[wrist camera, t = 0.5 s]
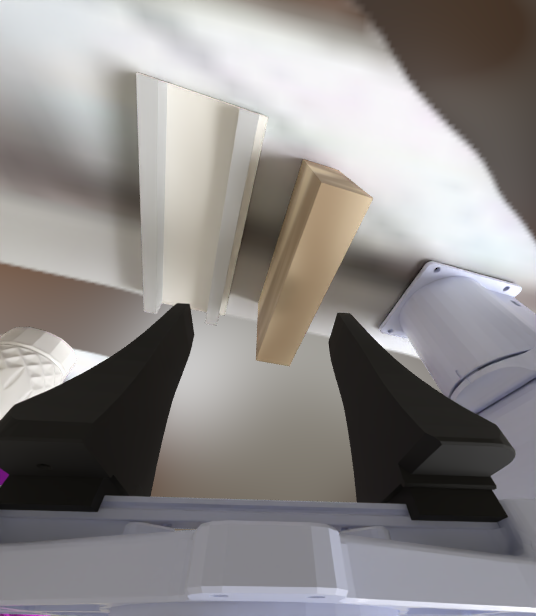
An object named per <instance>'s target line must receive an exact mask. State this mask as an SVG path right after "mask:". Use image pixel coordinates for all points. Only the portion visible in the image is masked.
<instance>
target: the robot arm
mask: <svg viewBox="0 0 536 616" xmlns="http://www.w3.org/2000/svg"><path fill="white" fill-rule="evenodd" d="M437 267H438V268H437ZM435 268H437V269H436V270H434V269H435ZM521 290H522V287H520V286H519V285H517V284H514V283H510V282H507V281H503V280H499V279H496V278H492V277H489V276H485V275H481V274H478V273H474V272H470V271H467V270H463V269H460V268H456V267H452V266H449V265H445V264H441V263H438V262H434V261H430V262H428V263H426V264H425V265H424V267H423V268H422V269H421V271H420V272H419V274H418V275H417V276H416V278H415V279H414V280H413V282H412V283H411V285H410V286H409V287H408V289H407V290H406V291H405V293H404V294H403V296H402V297H401V298H400V300H399V301H398V302H397V304H396V305H395V307H394V308H393V309H392V311H391V312H390V313H389V315H388V316H387V318H386V319H385V320H384V322H383V323H382V324H381V326H380V328H379V329H380V331H381V333H385V334H389V335H394V336H399V337H404V338H408V339H409V341H410V342H411V344H412V346H413V347H414V349H415V350H416V352H417V354H418V355H419V357H420V358H421V360H422V361H423V363H424V365H425V366H426V368H427V369H428V371H429V372H430V374H431V376H432V378H433V379H434V381H435V382H436V384H437V386H438V387H439V389H440V390H441V392H442V394H441V393H439V392H438V391H437V390H435V389H434V388H432V387H431V386H429V385H428V384H427V383H425V382H424V381H422V380H421V379H420V378H418V377H417V376H415V375H414V374H413V373H412V372H410V371H409V370H408V369H407V368H405V367H404V366H403V365H402V364H400V363H399V362H398V361H397V360H396V359H394V358H393V357H392V356H391V355H390V354H389V353H388V352H387V351H386V350H385V349H384V348H383V347H382V346H381V345H380V344H379V343H378V342H377V341H376V340H375V339H374V338H373V337H372V336H371V335H370V334H369V333H368V332H367V331H366V330H365V329H364V328H363V327H362V326H361V325H360V324H359V322H358V321H357V320H356V319H355V318H354V317H353V316H352V315H351V314H350V313H337V316H336V320H335V323H334V326H333V329H332V333H331V336H330V339H329V350H330V357H331V362H332V366H333V369H334V373H335V377H336V380H337V384H338V387H339V390H340V394H341V398H342V401H343V405H344V410H345V416H346V421H347V427H348V433H349V440H350V447H351V453H352V462H353V469H354V478H355V487H356V497H357V503H353V502H351V503H350V502H318V501H283V500H280V501H279V500H247V499H213V498H211V499H210V498H178V497H177V498H176V497H150V496H151V491H152V486H153V481H154V476H155V471H156V466H157V461H158V457H159V453H160V448H161V443H162V439H163V435H164V431H165V427H166V423H167V419H168V415H169V411H170V408H171V404H172V401H173V398H174V395H175V392H176V389H177V386H178V384H179V381H180V379H181V376H182V373H183V371H184V368H185V365H186V362H187V360H188V357H189V354H190V351H191V347H192V342H193V338H194V330H193V323H192V316H191V309H190V304H185V303H176V304H175V305H174V306H173V307H172V308H171V309H170V310H169V311H167V313H165V314H164V315H163V316H162V317H161V318H160V319H159V320H158V321H157V322H155V323H154V324H153V325H152V326H151V327H150V328H149V329H147V330H146V331H145V332H144V333H143V334H141V335H140V336H139V337H138V338H136V339H135V340H134V341H133V342H131V343H130V344H129V345H127V346H126V347H124V348H123V349H122V350H120V351H119V352H117V353H116V354H114V355H113V356H111V357H109V358H108V359H106V360H105V361H103V362H101V363H99V364H98V365H96V366H94V367H93V368H91V369H89V370H87V371H86V372H84V373H82V374H80V375H78V376H76V377H74V378H72V379H70V380H68V381H66V382H64V383H62V384H60V385H58V386H56V387H54V388H52V389H50V390H47V391H45V392H43V393H40V394H38V395H36V396H33V397H31V398H29V399H26V400H24V401H22V402H19V403H17V404H14V405H13V407H12V408H11V409H10V410H9V411H8V412H7V413H6V414H5V416H4V417H3V418H2V419H1V420H0V468H1V469H2V470H3V471H5V472H6V473H8V474H9V476H8V477H7V479H6V480H5V481H4V483H3V484H2V485H0V614H27V615H68V616H536V314H535V313H534V312H533V311H531V310H530V309H529V308H527V307H526V306H525V305H523V304H522V303H521V302H519V301H518V300H517V299H515V298H514V297H515V296H516V295H517V294H519V293H520V291H521ZM389 329H390V330H389ZM174 528H177V529H178V528H179V529H195V530H182V531H175V530H174ZM339 532H340V534H339Z"/></svg>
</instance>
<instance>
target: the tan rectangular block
mask: <svg viewBox="0 0 536 616" xmlns="http://www.w3.org/2000/svg"><path fill="white" fill-rule="evenodd" d="M372 200H373V198H372V197H371V196H370V195H368V194H367V193H366V192H365V191H363V190H362V189H361V188H360V187H358V186H357V185H356V184H355V183H353V182H352V181H351V180H350V179H349V178H347V177H346V176H345V175H344V174H342V173H341V172H340V171H339V170H336V169H333V168H330V167H327V166H323V165H320V164H317V163H314V162H311V161H308V160H305V159H303V160H302V164H301V167H300V170H299V173H298V177H297V180H296V183H295V186H294V189H293V193H292V196H291V199H290V202H289V205H288V209H287V212H286V215H285V218H284V221H283V225H282V228H281V231H280V234H279V238H278V241H277V244H276V247H275V250H274V254H273V257H272V260H271V263H270V266H269V270H268V273H267V276H266V279H265V282H264V286H263V289H262V292H261V295H260V299H259V302H258V321H257V348H256V360H257V361H263V362H268V363H274V364H279V365H285V366H290V364H291V362H292V360H293V358H294V356H295V354H296V352H297V350H298V348H299V346H300V344H301V342H302V340H303V338H304V336H305V334H306V332H307V330H308V328H309V326H310V324H311V322H312V320H313V318H314V316H315V314H316V312H317V310H318V308H319V306H320V304H321V302H322V300H323V298H324V296H325V294H326V292H327V290H328V288H329V286H330V284H331V282H332V280H333V278H334V276H335V274H336V272H337V270H338V268H339V266H340V264H341V262H342V260H343V258H344V256H345V254H346V252H347V250H348V248H349V246H350V244H351V242H352V240H353V238H354V236H355V234H356V232H357V230H358V228H359V226H360V224H361V222H362V220H363V218H364V216H365V214H366V212H367V210H368V208H369V206H370V204H371V202H372Z"/></svg>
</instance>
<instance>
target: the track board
mask: <svg viewBox="0 0 536 616" xmlns="http://www.w3.org/2000/svg"><path fill="white" fill-rule="evenodd" d="M136 87H137V118H138V149H139V180H140V211H141V242H142V273H143V302H144V303H143V304H144V312H148V313H153V314H157V312H158V310H159V308H160V307H161V305H162V303H163V304H168V305H173V306H174V305H175V304H176V303H185V304H190V309H193V310H198V311H203V312H207V314H206V320H205V324H210V325H215V326H217V322H218V318H219V315H223V316H225V312H226V308H227V303H228V298H229V294H230V289H231V285H232V280H233V276H234V271H235V267H236V262H237V257H238V253H239V248H240V244H241V239H242V235H243V230H244V226H245V221H246V216H247V212H248V207H249V203H250V198H251V194H252V189H253V185H254V180H255V176H256V171H257V166H258V162H259V157H260V153H261V148H262V144H263V139H264V135H265V130H266V125H267V121H268V117H267V116H264V115H261V114H258V113H255V112H252V111H249V110H247V109H244V108H241V107H238V106H235V105H232V104H229V103H226V102H223V101H220V100H217V99H215V98H212V97H209V96H206V95H203V94H200V93H197V92H194V91H191V90H188V89H185V88H182V87H180V86H177V85H174V84H171V83H168V82H165V81H162V80H159V79H156V78H153V77H150V76H147V75H145V74H141V73H137V72H136Z"/></svg>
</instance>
